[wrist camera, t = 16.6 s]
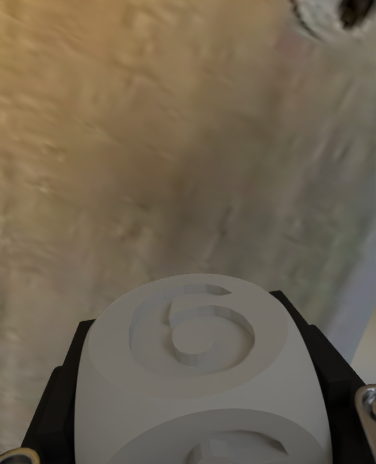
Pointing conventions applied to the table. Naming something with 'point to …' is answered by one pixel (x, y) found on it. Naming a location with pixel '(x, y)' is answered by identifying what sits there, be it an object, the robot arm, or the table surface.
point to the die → (198, 379)
